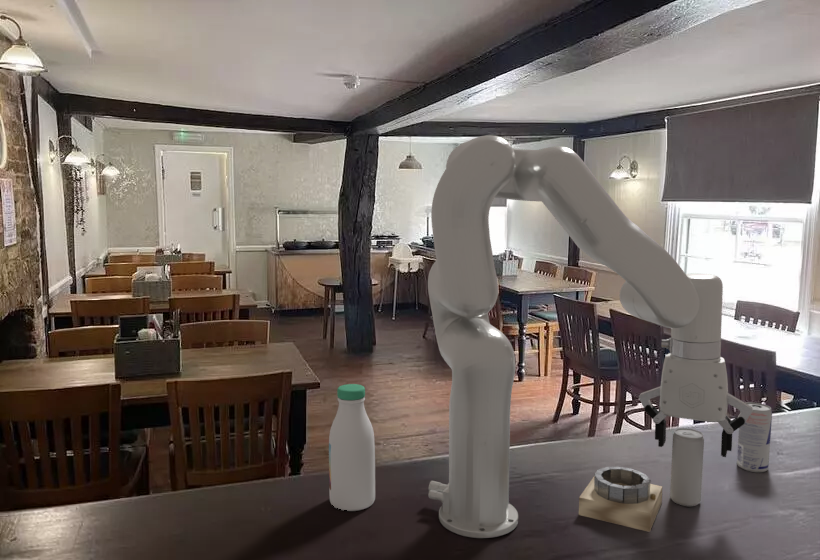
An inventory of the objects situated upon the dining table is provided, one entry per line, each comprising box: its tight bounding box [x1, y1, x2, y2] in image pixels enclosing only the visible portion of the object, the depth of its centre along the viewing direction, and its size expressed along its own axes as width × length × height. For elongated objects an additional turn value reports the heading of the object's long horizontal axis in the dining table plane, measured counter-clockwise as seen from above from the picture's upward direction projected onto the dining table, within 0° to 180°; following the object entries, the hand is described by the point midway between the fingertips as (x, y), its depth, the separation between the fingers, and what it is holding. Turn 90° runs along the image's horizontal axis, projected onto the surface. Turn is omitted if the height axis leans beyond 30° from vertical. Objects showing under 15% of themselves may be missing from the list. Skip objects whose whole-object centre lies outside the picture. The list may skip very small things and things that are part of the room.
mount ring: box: [593, 466, 652, 504], centre depth 107 cm, size 8×8×2 cm
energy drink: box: [736, 401, 773, 473], centre depth 123 cm, size 5×5×12 cm
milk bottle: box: [328, 383, 376, 512], centre depth 109 cm, size 8×8×20 cm
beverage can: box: [669, 427, 705, 507], centre depth 109 cm, size 5×5×12 cm
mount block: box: [578, 475, 663, 533], centre depth 107 cm, size 11×11×4 cm
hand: (692, 449), depth 109 cm, fingers open, 9 cm apart
